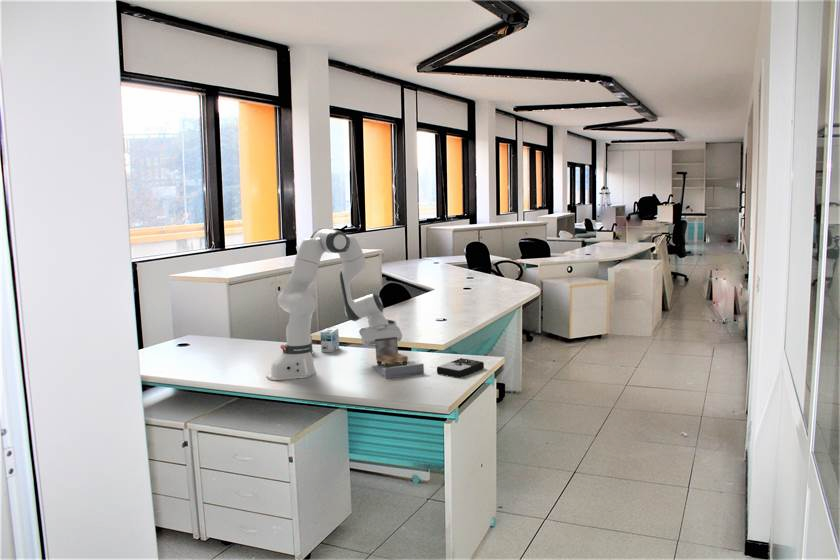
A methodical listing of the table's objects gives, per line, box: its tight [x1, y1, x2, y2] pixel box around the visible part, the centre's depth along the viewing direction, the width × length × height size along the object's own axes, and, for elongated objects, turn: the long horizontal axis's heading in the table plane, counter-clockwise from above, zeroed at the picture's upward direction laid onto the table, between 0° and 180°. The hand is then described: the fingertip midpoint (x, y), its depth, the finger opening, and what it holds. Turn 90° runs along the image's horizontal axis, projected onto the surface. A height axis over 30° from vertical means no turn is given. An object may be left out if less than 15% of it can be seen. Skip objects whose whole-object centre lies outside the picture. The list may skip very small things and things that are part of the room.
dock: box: [370, 361, 425, 380], centre depth 319 cm, size 18×24×6 cm
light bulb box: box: [320, 327, 340, 353], centre depth 363 cm, size 11×7×11 cm, turn 168°
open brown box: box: [374, 337, 409, 368], centre depth 326 cm, size 11×14×12 cm
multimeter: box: [436, 357, 485, 379], centre depth 313 cm, size 13×19×5 cm
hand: (385, 349), depth 333 cm, fingers closed, pressing on open brown box
